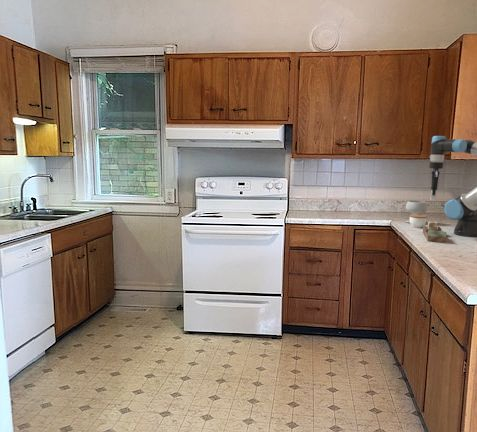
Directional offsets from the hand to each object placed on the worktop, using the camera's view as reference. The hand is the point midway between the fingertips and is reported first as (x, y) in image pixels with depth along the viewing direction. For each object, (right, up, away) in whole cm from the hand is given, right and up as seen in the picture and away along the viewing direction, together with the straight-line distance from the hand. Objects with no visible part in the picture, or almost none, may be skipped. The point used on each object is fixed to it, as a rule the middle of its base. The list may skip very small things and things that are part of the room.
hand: (432, 200), depth 260 cm
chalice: (+5, -14, +38) cm, 41 cm away
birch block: (-3, -18, -5) cm, 19 cm away
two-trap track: (-6, -22, -13) cm, 26 cm away
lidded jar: (-1, -17, +21) cm, 27 cm away
